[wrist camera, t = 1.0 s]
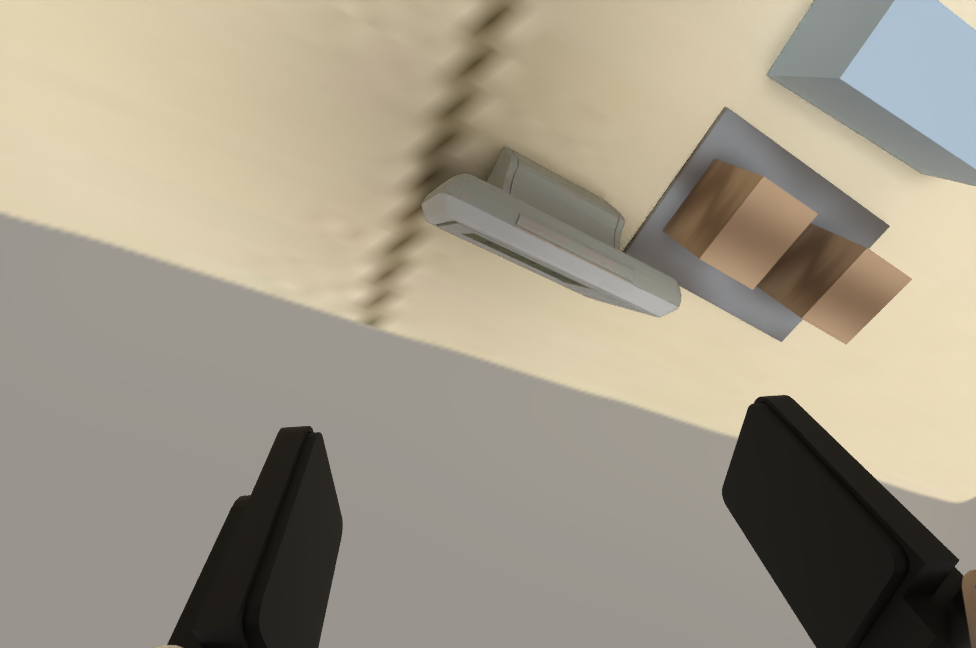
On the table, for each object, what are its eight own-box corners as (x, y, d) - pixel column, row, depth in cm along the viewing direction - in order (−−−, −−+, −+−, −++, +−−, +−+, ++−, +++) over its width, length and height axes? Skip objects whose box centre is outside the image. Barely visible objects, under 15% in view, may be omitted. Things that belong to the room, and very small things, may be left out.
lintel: (816, -5, 30) (910, -22, 24) (973, 108, 35) (1086, 118, 29) (764, 75, 32) (839, 78, 26) (919, 173, 37) (1014, 195, 31)
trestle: (724, 107, 33) (782, 116, 27) (885, 224, 38) (961, 252, 33) (622, 253, 38) (653, 286, 32) (778, 339, 43) (829, 381, 37)
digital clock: (408, 202, 34) (396, 254, 25) (486, 94, 31) (505, 108, 22) (568, 319, 40) (606, 396, 31) (647, 238, 37) (715, 296, 28)
